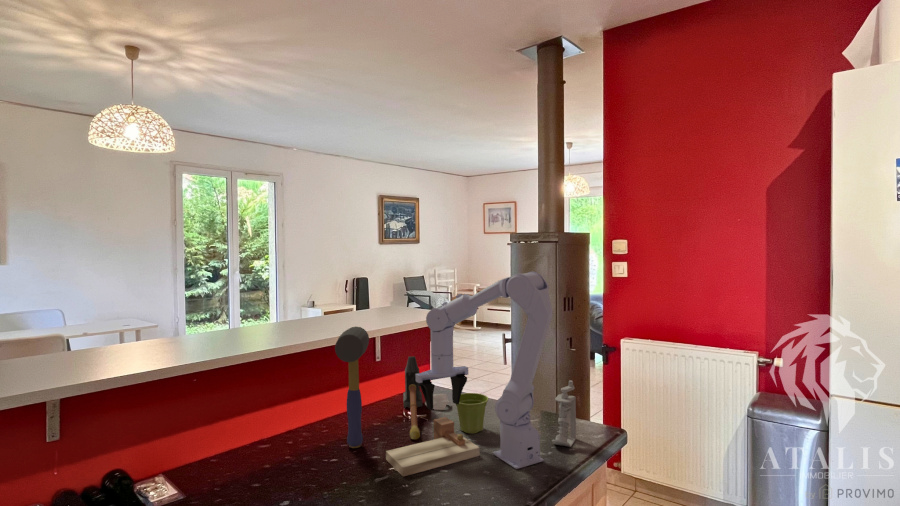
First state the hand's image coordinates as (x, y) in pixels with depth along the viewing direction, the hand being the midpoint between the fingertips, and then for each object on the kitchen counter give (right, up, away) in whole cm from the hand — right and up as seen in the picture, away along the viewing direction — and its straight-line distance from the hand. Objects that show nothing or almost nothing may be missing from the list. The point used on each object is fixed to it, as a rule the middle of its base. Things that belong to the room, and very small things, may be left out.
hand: (443, 405), depth 126 cm
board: (-2, -9, -10) cm, 14 cm away
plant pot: (+8, -9, +7) cm, 14 cm away
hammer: (-9, -9, +16) cm, 21 cm away
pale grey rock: (-2, -9, +27) cm, 28 cm away
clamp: (+31, -9, -3) cm, 32 cm away
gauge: (+2, -9, -3) cm, 10 cm away
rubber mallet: (-22, -10, -3) cm, 24 cm away
